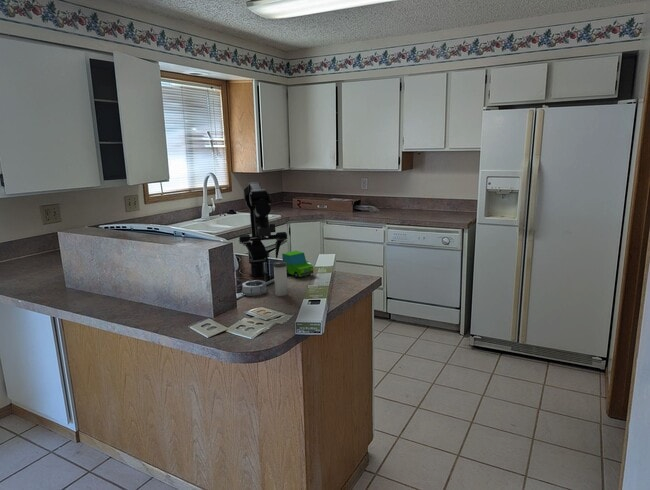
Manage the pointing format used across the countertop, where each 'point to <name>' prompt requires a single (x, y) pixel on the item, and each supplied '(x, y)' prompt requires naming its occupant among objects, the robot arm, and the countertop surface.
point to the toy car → (297, 264)
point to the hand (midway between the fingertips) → (265, 259)
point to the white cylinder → (280, 278)
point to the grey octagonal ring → (254, 288)
